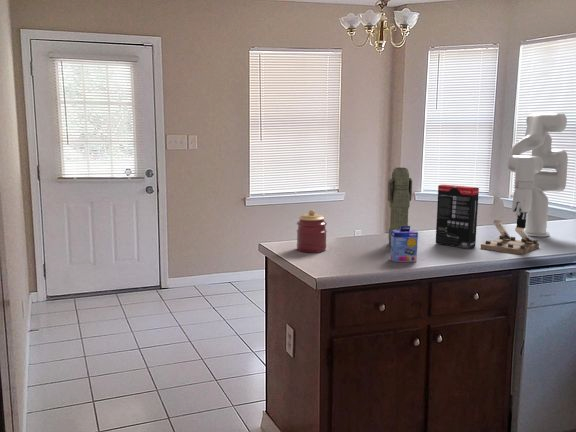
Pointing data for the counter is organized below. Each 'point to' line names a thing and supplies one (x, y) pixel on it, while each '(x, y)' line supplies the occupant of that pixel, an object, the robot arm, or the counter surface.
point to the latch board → (510, 245)
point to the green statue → (399, 199)
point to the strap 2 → (523, 234)
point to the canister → (311, 233)
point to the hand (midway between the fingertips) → (520, 228)
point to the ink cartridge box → (404, 245)
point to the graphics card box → (457, 216)
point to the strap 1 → (502, 229)
